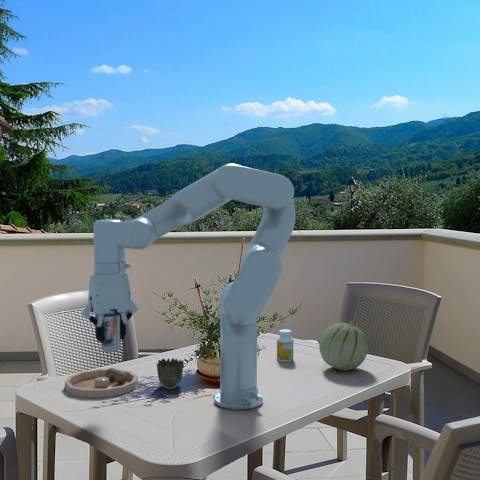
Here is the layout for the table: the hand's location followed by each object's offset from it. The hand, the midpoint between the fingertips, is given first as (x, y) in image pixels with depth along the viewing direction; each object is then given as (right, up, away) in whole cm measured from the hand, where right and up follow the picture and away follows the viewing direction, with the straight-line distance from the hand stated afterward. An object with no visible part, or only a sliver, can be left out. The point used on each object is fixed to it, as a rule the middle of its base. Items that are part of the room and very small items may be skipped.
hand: (110, 339), depth 154 cm
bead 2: (-1, -15, +16) cm, 22 cm away
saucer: (-5, -16, +14) cm, 22 cm away
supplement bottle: (+47, -14, +44) cm, 66 cm away
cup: (+13, -16, +14) cm, 25 cm away
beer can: (0, -3, 0) cm, 3 cm away
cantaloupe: (+65, -15, +34) cm, 74 cm away
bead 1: (-4, -15, +19) cm, 24 cm away
